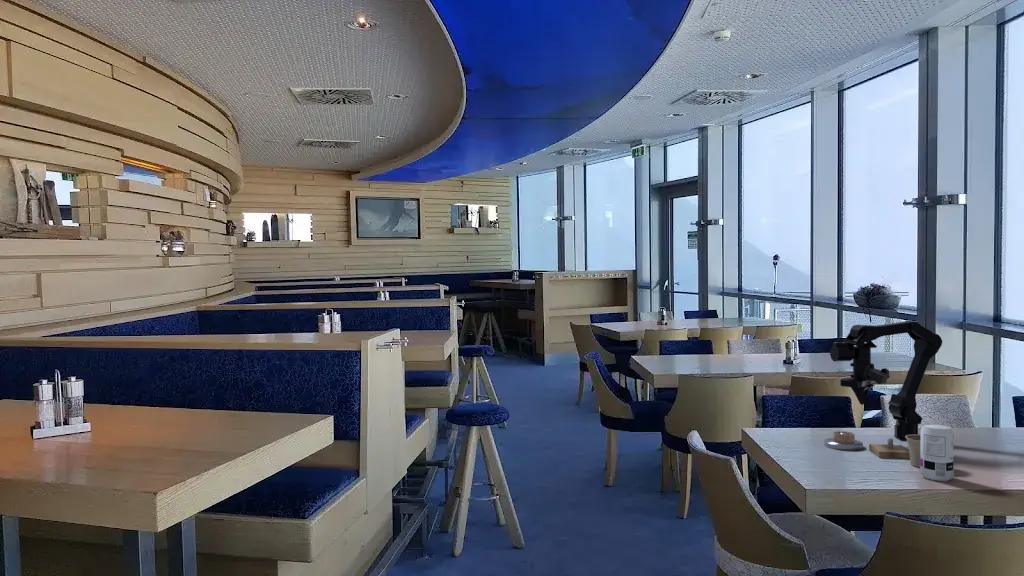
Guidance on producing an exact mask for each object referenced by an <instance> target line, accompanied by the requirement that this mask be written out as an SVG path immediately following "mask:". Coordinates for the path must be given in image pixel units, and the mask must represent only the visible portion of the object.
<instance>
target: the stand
mask: <svg viewBox="0 0 1024 576" xmlns="http://www.w3.org/2000/svg"><path fill="white" fill-rule="evenodd" d="M868 450H869V452H871V453H872V454H874V455H875V456H876V457H878V458H879V459H880V458H881V459H904V460H906V459H910V453H909V448H907V447H906V446H904V445H902V444H894V439H893V438H887V444H885V443H883V444H881V443H880V444H879V443H878V444H877V443H869V444H868Z"/></svg>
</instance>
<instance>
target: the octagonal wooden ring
mask: <svg viewBox="0 0 1024 576" xmlns="http://www.w3.org/2000/svg"><path fill="white" fill-rule="evenodd" d="M841 433H846V434H841ZM832 434H833V437H832V438H833V441H834V442H835V443H840V444H854V443H855V440H856V439H855V433H853V432H850V431H844V430H837V431H833V433H832Z"/></svg>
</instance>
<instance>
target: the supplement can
mask: <svg viewBox="0 0 1024 576" xmlns="http://www.w3.org/2000/svg"><path fill="white" fill-rule="evenodd" d="M954 434H955V433H954V432H953V429H952V428H951V426H948V425H945V424H940V423H939V424H938V423H925V424H922V427H921V428H920V435H921V439H920V467H919V469H920V475H921V476H922V477H923V478H924V479H926V478H927V479H926V480H929V479H931V480H930V481H934V480H938V481H937V482H949V481H948V480H950V479H951V480H952V479H953V478H954V449H955V447H954V446H955V445H954V443H955V442H954V439H955V438H954ZM951 480H950V481H951Z"/></svg>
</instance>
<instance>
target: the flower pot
mask: <svg viewBox="0 0 1024 576" xmlns="http://www.w3.org/2000/svg"><path fill="white" fill-rule="evenodd" d="M905 438H906V439H907V440H906V442H907V445H908V450H909V453H910V465H911V466H913V467H916V468H920V439H921V434H918V435H907V436H905Z"/></svg>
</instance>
